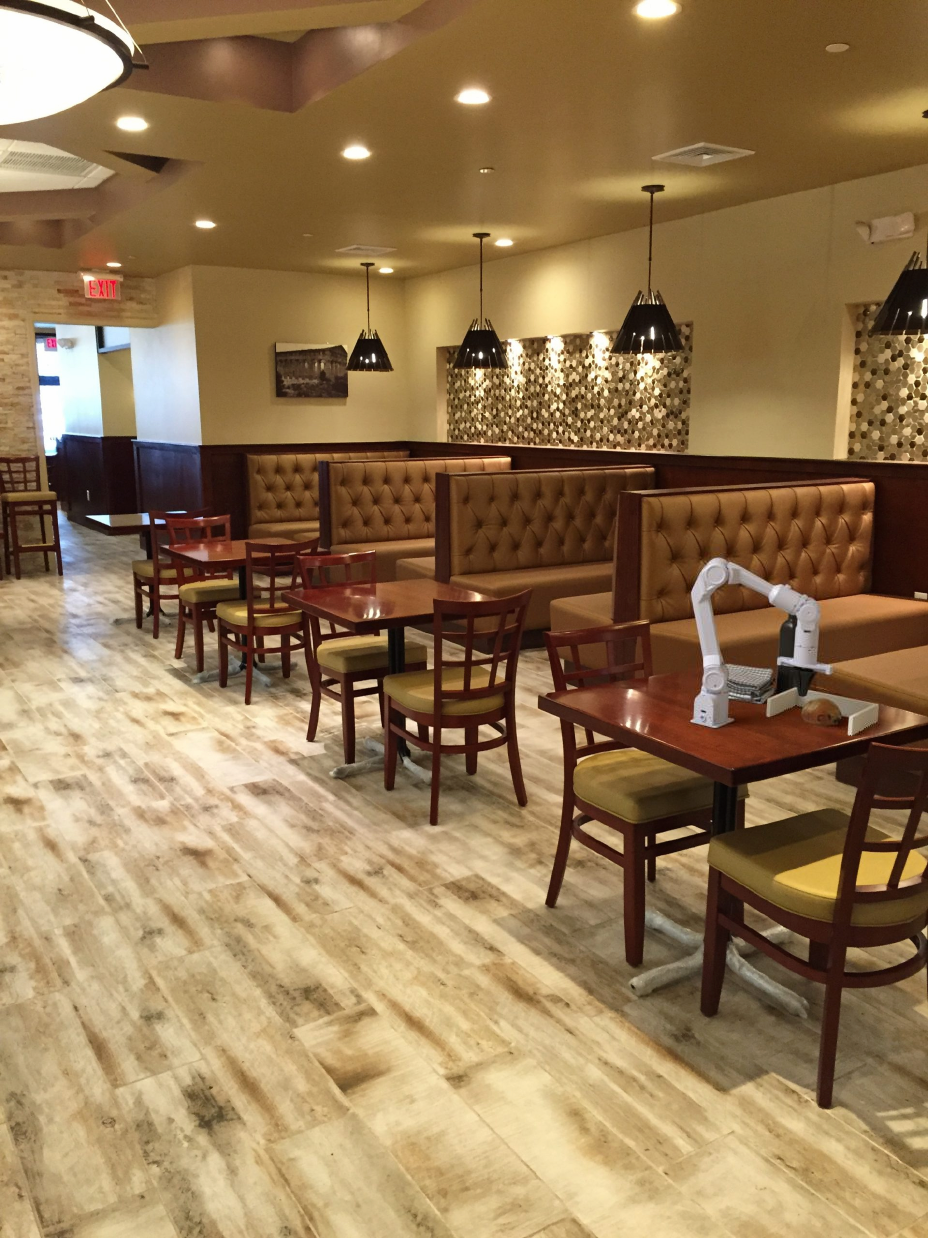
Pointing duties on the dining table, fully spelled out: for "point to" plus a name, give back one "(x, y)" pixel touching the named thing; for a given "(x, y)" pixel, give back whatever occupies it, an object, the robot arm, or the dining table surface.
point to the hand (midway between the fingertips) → (802, 695)
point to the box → (856, 710)
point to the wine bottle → (786, 654)
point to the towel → (750, 683)
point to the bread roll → (821, 712)
